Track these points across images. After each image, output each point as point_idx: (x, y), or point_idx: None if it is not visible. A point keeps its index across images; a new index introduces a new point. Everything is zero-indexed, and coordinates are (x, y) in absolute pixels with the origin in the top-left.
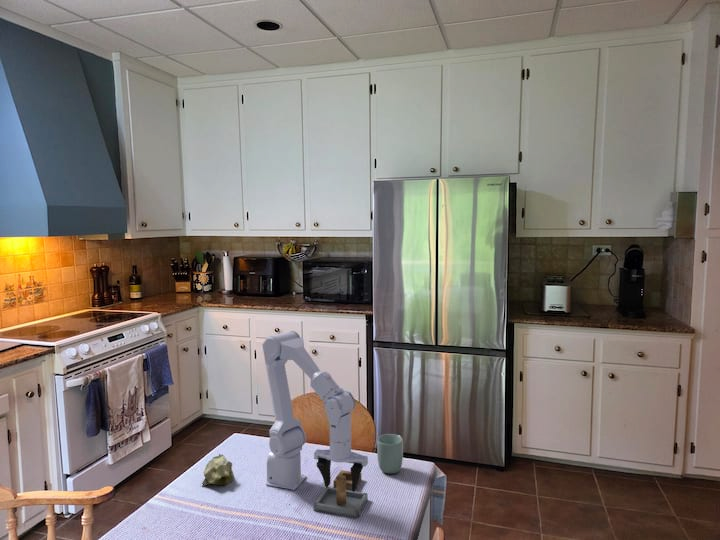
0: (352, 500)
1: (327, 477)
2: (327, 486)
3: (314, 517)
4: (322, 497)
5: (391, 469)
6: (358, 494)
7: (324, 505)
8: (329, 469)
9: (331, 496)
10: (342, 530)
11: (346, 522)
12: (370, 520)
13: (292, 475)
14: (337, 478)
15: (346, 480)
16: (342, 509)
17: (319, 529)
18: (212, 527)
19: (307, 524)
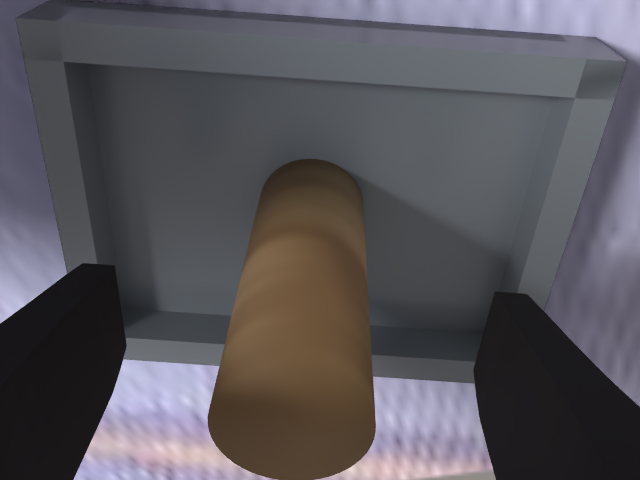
0: (423, 142)
1: (69, 432)
2: (123, 356)
3: (156, 380)
4: (95, 231)
5: None
6: (497, 88)
7: (189, 360)
8: (2, 432)
9: (159, 114)
10: (411, 458)
11: (421, 390)
12: (619, 343)
13: None
14: (243, 453)
15: None
16: (373, 374)
17: None
18: None
19: (149, 445)
